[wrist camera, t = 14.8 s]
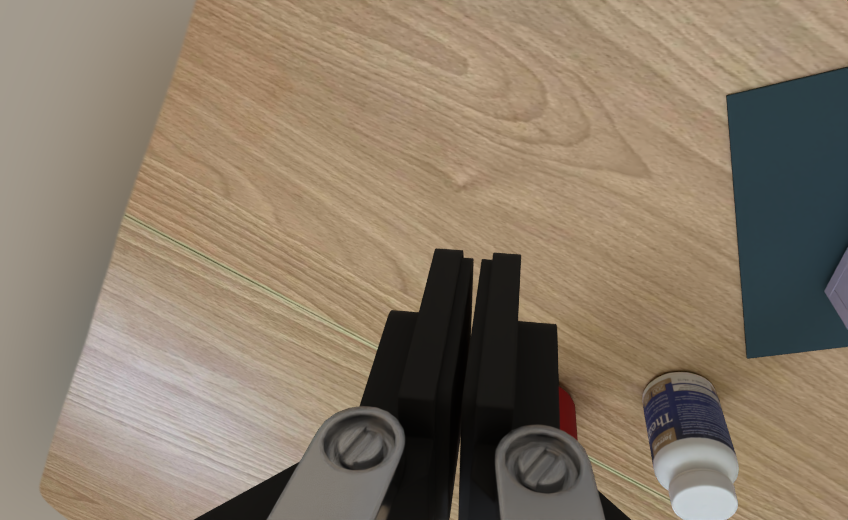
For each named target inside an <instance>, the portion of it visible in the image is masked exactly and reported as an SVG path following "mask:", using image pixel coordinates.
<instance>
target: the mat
mask: <svg viewBox="0 0 848 520" xmlns="http://www.w3.org/2000/svg"><path fill="white" fill-rule="evenodd" d="M726 97H727V110H728V123H729V136H730V148H731V161H732V174H733V187H734V200H735V212H736V225H737V238H738V251H739V264H740V276H741V289H742V302H743V315H744V328H745V340H746V353H747V359H749V358H758V357H766V356H774V355H782V354H791V353H799V352H807V351H816V350H824V349H832V348H841V347H848V329H847V328H846V326H845V324H844V323H843V321H842V319H841V318H840V316H839V315H838V313H837V311H836V310H835V308H834V306H833V305H832V303H831V301H830V300H829V298H828V297H827V295H826V293H825V292H824V291H825V289H826V287H827V285H828V283H829V281H830V280H831V278H832V276H833V274H834V272H835V270H836V268H837V266H838V265H839V263H840V261H841V259H842V257H843V255H844V253H845V251H846V250H847V248H848V67H846V68H841V69H837V70H833V71H829V72H824V73H820V74H816V75H812V76H807V77H803V78H799V79H795V80H790V81H786V82H782V83H778V84H773V85H769V86H765V87H760V88H756V89H752V90H748V91H743V92H739V93H735V94H731V95H727V96H726Z"/></svg>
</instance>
